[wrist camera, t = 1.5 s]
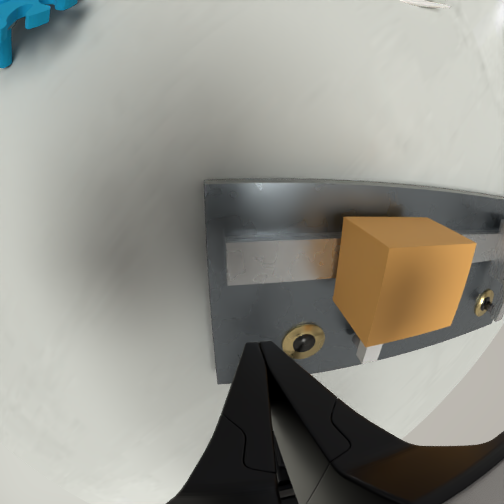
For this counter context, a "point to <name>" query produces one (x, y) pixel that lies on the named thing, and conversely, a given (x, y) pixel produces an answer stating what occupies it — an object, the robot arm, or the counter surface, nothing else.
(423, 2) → the fork
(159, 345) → the counter surface
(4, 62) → the gear
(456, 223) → the hole plate
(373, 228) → the divider leg
